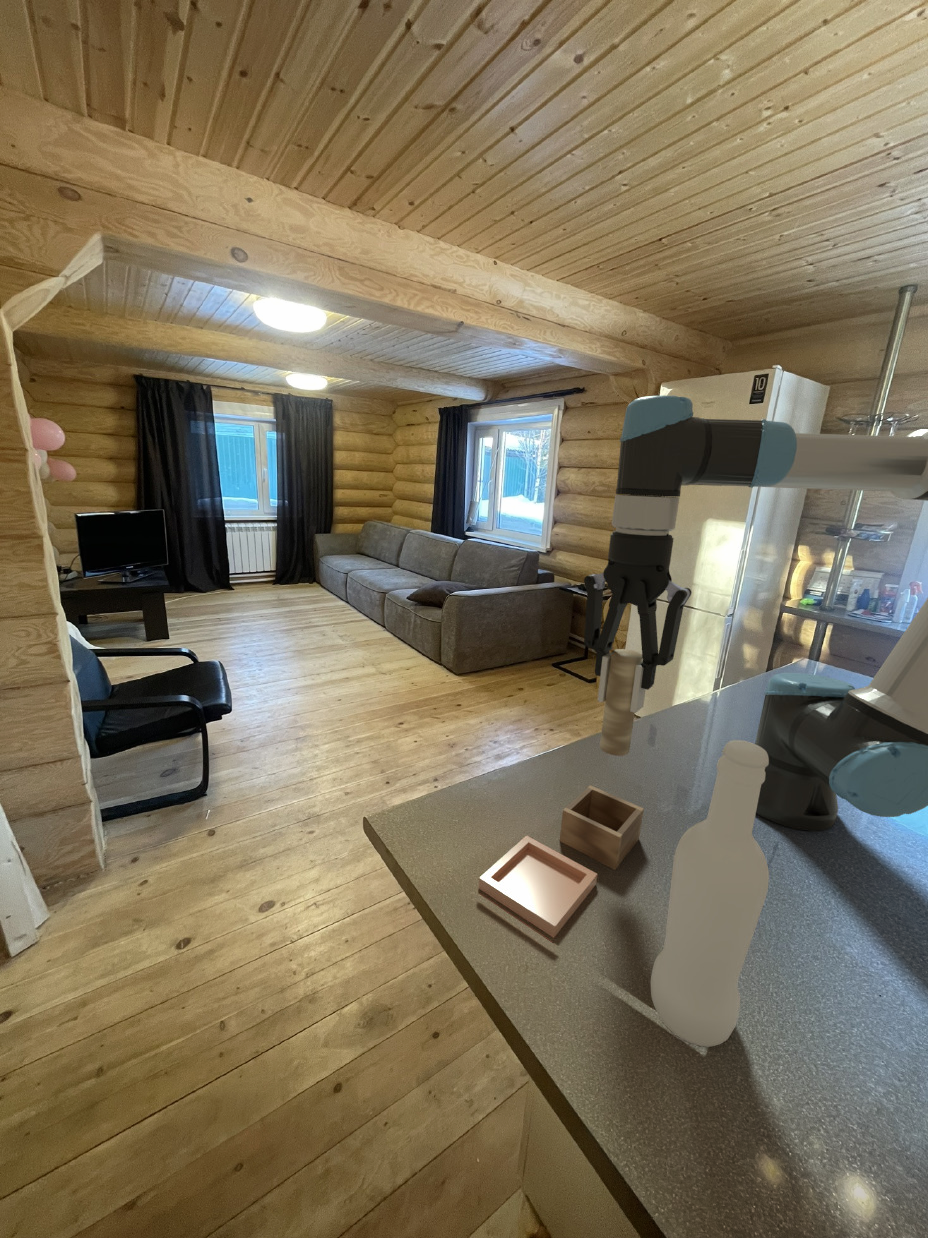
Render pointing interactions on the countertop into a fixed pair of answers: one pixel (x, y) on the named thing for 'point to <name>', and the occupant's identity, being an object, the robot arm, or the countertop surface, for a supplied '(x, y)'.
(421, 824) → the countertop surface
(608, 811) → the small wooden box
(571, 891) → the tray
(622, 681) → the dowel
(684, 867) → the bottle
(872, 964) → the countertop surface
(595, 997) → the countertop surface
